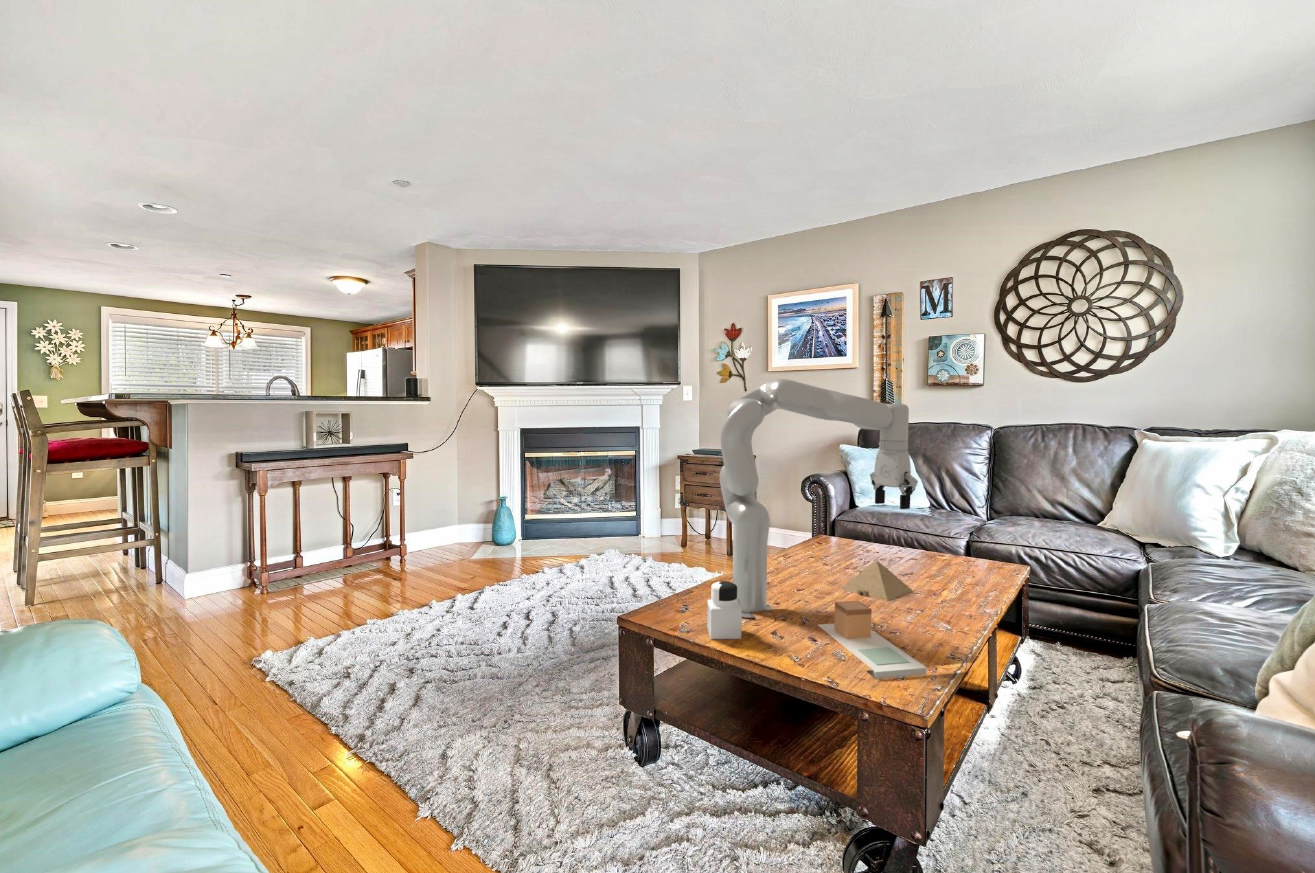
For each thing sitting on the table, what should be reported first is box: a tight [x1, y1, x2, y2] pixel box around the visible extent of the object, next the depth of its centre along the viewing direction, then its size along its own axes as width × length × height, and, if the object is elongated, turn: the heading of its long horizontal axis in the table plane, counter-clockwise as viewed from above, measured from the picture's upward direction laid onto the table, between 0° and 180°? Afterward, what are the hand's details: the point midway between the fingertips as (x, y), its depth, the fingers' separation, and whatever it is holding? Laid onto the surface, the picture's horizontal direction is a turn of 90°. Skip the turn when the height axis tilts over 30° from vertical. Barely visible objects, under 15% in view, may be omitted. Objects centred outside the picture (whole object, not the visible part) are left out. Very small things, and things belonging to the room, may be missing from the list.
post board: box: [817, 623, 928, 680], centre depth 141 cm, size 12×28×6 cm, turn 10°
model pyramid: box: [839, 559, 913, 602], centre depth 188 cm, size 17×17×10 cm
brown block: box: [833, 600, 872, 639], centre depth 148 cm, size 6×6×7 cm
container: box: [706, 580, 743, 640], centre depth 151 cm, size 8×8×13 cm
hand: (892, 506), depth 171 cm, fingers open, 9 cm apart
